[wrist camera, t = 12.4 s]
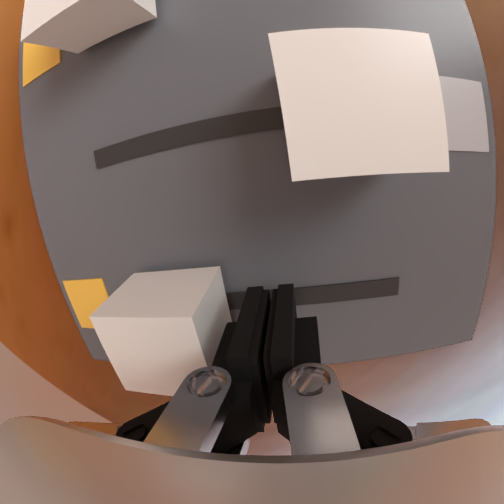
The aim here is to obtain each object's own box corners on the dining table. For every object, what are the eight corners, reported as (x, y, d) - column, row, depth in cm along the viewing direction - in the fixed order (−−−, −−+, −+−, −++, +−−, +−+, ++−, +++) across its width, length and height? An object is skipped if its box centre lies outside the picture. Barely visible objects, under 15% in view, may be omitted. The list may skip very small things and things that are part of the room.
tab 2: (219, 266, 12) (191, 317, 8) (236, 339, 13) (218, 399, 10) (133, 273, 12) (89, 316, 9) (157, 339, 14) (125, 389, 10)
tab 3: (388, 62, 8) (428, 33, 5) (401, 159, 9) (449, 172, 6) (276, 68, 9) (268, 33, 5) (292, 167, 10) (291, 181, 7)
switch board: (414, -60, 6) (426, -77, 4) (457, 319, 14) (472, 340, 12) (43, 20, 10) (21, 14, 8) (107, 340, 18) (92, 359, 16)
